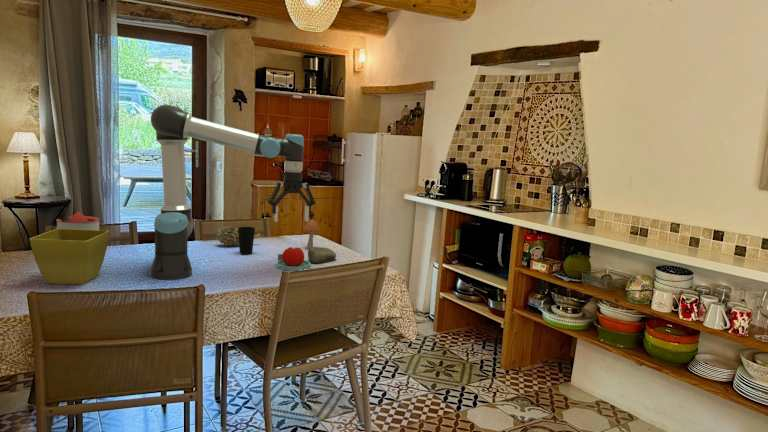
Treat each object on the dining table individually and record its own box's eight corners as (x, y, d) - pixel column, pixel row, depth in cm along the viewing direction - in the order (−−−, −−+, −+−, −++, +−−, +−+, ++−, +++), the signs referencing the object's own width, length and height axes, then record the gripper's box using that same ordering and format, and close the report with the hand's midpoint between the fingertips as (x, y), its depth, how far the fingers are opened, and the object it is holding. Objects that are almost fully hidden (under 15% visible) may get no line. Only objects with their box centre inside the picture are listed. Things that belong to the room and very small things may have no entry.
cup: (249, 256, 241) (250, 230, 240) (234, 254, 243) (234, 228, 241) (257, 252, 249) (257, 227, 247) (242, 251, 250) (242, 226, 249)
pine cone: (218, 248, 252) (218, 228, 251) (213, 244, 260) (213, 225, 259) (263, 246, 263) (263, 226, 262) (257, 242, 271) (258, 223, 270)
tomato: (301, 262, 233) (302, 245, 231) (305, 267, 224) (306, 250, 223) (280, 263, 230) (280, 246, 228) (283, 268, 221) (283, 250, 220)
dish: (282, 271, 217) (282, 268, 217) (272, 263, 230) (272, 260, 230) (315, 269, 224) (315, 265, 224) (303, 261, 237) (303, 258, 237)
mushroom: (322, 248, 265) (323, 219, 263) (312, 251, 258) (313, 221, 256) (310, 246, 269) (311, 217, 267) (299, 248, 262) (300, 218, 260)
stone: (299, 259, 236) (307, 238, 239) (320, 270, 246) (327, 250, 249) (312, 261, 230) (320, 240, 233) (333, 272, 240) (340, 251, 243)
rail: (278, 262, 232) (278, 254, 232) (277, 261, 233) (277, 254, 233) (297, 261, 237) (298, 253, 236) (296, 260, 238) (297, 252, 237)
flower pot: (87, 288, 182) (86, 240, 180) (29, 286, 181) (27, 238, 178) (111, 273, 201) (110, 230, 199) (59, 272, 199) (57, 228, 197)
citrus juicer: (74, 253, 229) (72, 207, 226) (109, 257, 226) (108, 210, 223) (44, 260, 214) (42, 212, 211) (81, 265, 211) (80, 215, 208)
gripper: (266, 171, 212) (264, 223, 215) (324, 173, 224) (321, 222, 227) (261, 169, 219) (259, 220, 222) (317, 171, 231) (315, 219, 234)
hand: (291, 221), depth 224 cm, fingers open, 13 cm apart
